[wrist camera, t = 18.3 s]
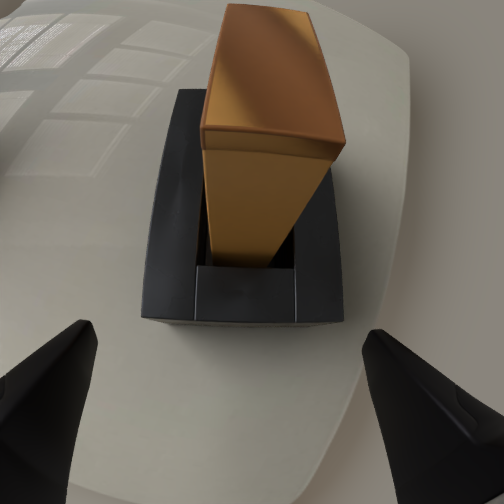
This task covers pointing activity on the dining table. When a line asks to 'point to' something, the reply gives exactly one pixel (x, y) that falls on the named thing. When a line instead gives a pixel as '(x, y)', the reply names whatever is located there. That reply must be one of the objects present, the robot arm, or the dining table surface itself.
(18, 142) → the dining table surface
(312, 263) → the toaster
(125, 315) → the dining table surface
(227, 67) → the toast
